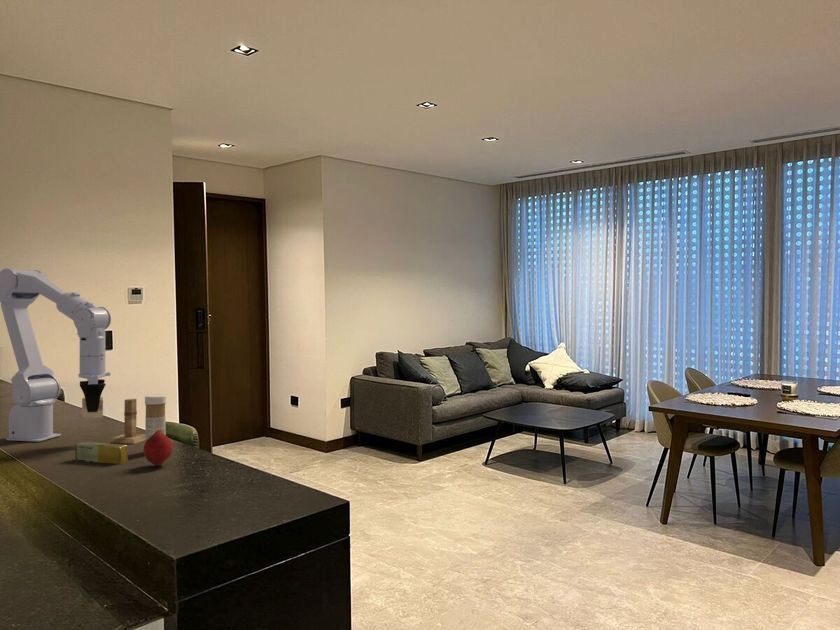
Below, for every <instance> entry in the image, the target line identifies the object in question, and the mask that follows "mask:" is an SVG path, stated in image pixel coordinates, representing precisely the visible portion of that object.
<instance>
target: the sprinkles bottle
mask: <svg viewBox="0 0 840 630" xmlns="http://www.w3.org/2000/svg"><path fill="white" fill-rule="evenodd" d="M166 403H167V396H166V395H165V394H159V393H158V394H157V393H156V394H147V395H145V396H144V404H145V405H144V406H145V420H144V421H145V426H144V427H145V433H144V434H145V438H146V440H145V442H146V441H147V440H148V439H149V437H150V436H152V435H153V434H154V433H155V432H156V431H157V429H161V430H162V433H163V434H164V435H166V425H167V423H166Z"/></svg>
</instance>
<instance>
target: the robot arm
mask: <svg viewBox="0 0 840 630" xmlns="http://www.w3.org/2000/svg"><path fill="white" fill-rule="evenodd" d="M39 296H43V297H44V298H45V299H48V300H50V301H51V302H53V303H55V305H56V306H55V307H56V309H57V310H58V312H60V313H61V314H63V315H65V316H66V317H68V319H70V320H71V321H73V324H74V326H75V328H76V330H77V333H76V334H77V336H78V338H79V373H78V378H80V379H85V380H80V381H79V387H80V389H81V391H82V393H83V397H84V398H85V401H86V407H87V411H88V412H97V411H98V408H99V402H100V397H102V393H103V391H104V389H105V387H106V385H107V384H106V383H105V382H106V380H105V379H102V378H105V377H109V376H111V372H109V371H108V372H106V329H108V328H109V327H110V325H111V322H112V316H111V313H110V311H109V310H108V309H107V308H106V307H105V306H98V307H97V306H95V305H94V303H93V302H91V301H87V300H86V299H85V298H83V297H81V294H80V292H76V291H68V292H66V291H64V290H63V289H62V288H61V287H59V286H58V285H57V284H55V282H53V281H52V280H50V279H49V277H48V275H47V274H46V273H43V272H42V271H41V270H37V269H35V270H28V269H27V270H26V269H11V268H3V269H1V270H0V308H1V312H2V315H3V318H4V323H5V326H6V329H7V333H8V337H9V341H10V343H11V344H10V345H11V346H12V350H13V354H14V357H15V361H16V363H17V369H18V371H17V372H16V373H14V375H13V376H12V377H11V379H10V381H11V385H12V388H11V389H12V390H11V394H12V395H11V396H12V398H13V401H14V402H15V403H16V404H15V405H13V406H12V407H11V409H10V411H9V414H8V437H7V438H6V441H15V442H18V441H19V442H36V443H37V442H43V441H46V440H50V439H54V438H57V437H61V435H62V433H54V426H53V425H54V404H53V403H56V400H57V399H58V398H59V396H60V394H61V387H62V386H61V384H60V382H59V380H58V379H57V377H56V375H55V373H54V370H52V369H51V368H49V367H48V366H46V365H44V363H43V361H42V357H41V354H40V350H39V345H38V343H37V339H36V335H35V332H34V329H33V326H32V323H31V318H30V315H29V312H28V308H29V305H32V304H33V303H34V302H35V301H36V300H37V299H38V297H39Z"/></svg>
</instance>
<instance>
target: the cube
mask: <svg viewBox="0 0 840 630" xmlns="http://www.w3.org/2000/svg"><path fill="white" fill-rule="evenodd" d="M103 399H104V398H103V396H101V397H100V402H99V408H98V411H97V412H88V411H87V407H86V401H85V397H82V398H81V403H82V405H81V409H82V410H81V411H82V412H81V417H82V418H81V419H82V420H86V419H87V420H88V419H101V418H104V400H103Z"/></svg>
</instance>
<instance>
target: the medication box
mask: <svg viewBox="0 0 840 630" xmlns="http://www.w3.org/2000/svg"><path fill="white" fill-rule="evenodd" d="M74 446H75V461H78V460H85V461H84V462H90V461H93V462H92V463H105V464H117V465H122V464H125V463H127V462H129V456H128V455H129V454H128V453H129V451H128V445H127V444H120V443H107V442H93V441H80V442H76V443H75V445H74Z"/></svg>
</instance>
